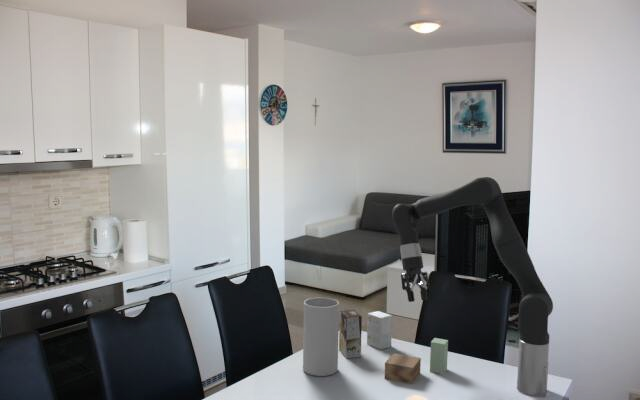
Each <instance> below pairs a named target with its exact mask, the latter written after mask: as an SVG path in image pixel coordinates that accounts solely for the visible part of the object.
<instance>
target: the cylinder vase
mask: <svg viewBox="0 0 640 400" xmlns="http://www.w3.org/2000/svg"><path fill="white" fill-rule="evenodd" d="M339 309H340V302H339V300H337V299H334V298H331V297H330V298H329V297H313V298H312V297H311V298H307V299H305V300H304V301H303V338H302V339H303V341H302V343H303V346H302V348H303V349H302V350H303V351H302V352H303V353H302V355H303V356H302V358H303V359H302V369H303V372H305V373H306V374H308V375H311V376H313V377H328V376H331V375H333V374H335V373H337V371H338V369H339V320H340V310H339Z"/></svg>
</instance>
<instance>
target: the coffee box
mask: <svg viewBox="0 0 640 400" xmlns="http://www.w3.org/2000/svg"><path fill="white" fill-rule="evenodd" d="M362 319H363V318H362V315H361V314H360V313H359V312H357V310H355V309H349V310H348V309H347V310H341V311H340V310H339V325H338V352H340V353H341V354H342V355H343V356H344V357H345V358H346V359H351V358H361V356H362V328H363V327H362V321H363V320H362Z"/></svg>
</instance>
